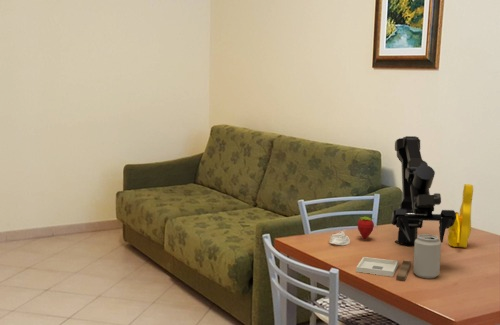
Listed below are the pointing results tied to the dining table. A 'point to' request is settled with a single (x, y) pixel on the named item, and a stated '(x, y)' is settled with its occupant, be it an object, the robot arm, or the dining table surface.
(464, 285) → the dining table surface
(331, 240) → the whipped cream
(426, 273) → the can
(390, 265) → the tray
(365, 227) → the strawberry
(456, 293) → the dining table surface
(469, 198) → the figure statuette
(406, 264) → the strip
